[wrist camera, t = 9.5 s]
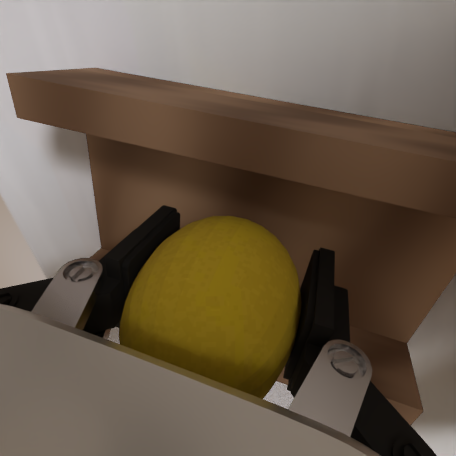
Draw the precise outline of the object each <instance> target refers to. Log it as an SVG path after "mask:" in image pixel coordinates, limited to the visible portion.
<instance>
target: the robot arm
mask: <svg viewBox="0 0 456 456" xmlns="http://www.w3.org/2000/svg"><path fill="white" fill-rule="evenodd" d="M178 230H180V213H179V212H177V209H176V208H173V207H169V206H166V205H163V206H161V207H160V208H159V209H158V210H157V211H156V212H155V213H153V214H152V215H151V216H150V217H149V218H148V219H147V220H145V221H144V222H143V223H142V224H141V225H140V226H139V227H138V228H136V229H135V230H133V231H132V232H131V233H130V234H129V235H128V236H126V237H125V238H124V239H123V240H122V241H121V242H120V243H118V244H117V245H116V246H115V247H114V248H113V249H112V250H111V251H109V252H108V253H107V254H106V255H105V256H104V257H103V258H101V259H100V260H99V261H97V260H95V259H91V258H80V259H75V260H72V261H70V262H68V263H66V264H65V265H63V266H62V267H61V268H60V269H59V271H58V272H57V274H56V275H55V277H54V278H50V279H46V280H40V281H36V282H31V283H26V284H22V285H16V286H11V287H7V288H2V289H0V456H436V454H435V453H434V452H433V450H432V449H431V448H430V447H429V446H428V445H427V444H426V443H425V441H424V440H423V439H422V438H421V437H420V436H419V435H418V434H417V432H416V431H415V430H414V429H413V428H412V427H411V426H410V425H409V423H408V422H407V421H406V420H405V419H404V418H403V417H402V416H401V415H400V413H399V412H398V411H397V410H396V409H395V408H394V407H393V406H392V404H391V403H390V402H389V401H388V400H387V399H386V398H385V397H384V395H383V394H382V393H381V392H380V391H379V390H378V389H377V388H376V387H375V385H374V384H373V383H372V382H371V381H370V379H371V376H372V366H371V362H370V361H369V359H368V357H367V356H366V354H365V353H364V352H363V351H362V350H361V349H360V348H358V347H357V346H355V345H354V344H352V343H350V323H349V301H348V290H347V289H345V288H342V287H338V286H335V285H334V277H335V251H333V250H329V249H325V248H321V247H320V249H319V250H315V249H314V250H313V253H312V256H311V259H310V262H309V265H308V267H307V270H306V273H305V276H304V279H303V282H302V285H301V288H300V292H301V314H300V320H299V325H298V330H297V335H296V339H295V343H294V346H293V349H292V351H291V354H290V356H289V359H288V361H287V363H286V365H285V369H284V375H283V378H285V379H287V380H288V387H287V390H289V391H291V394H292V395H293V397H294V400H293V401H292V403H291V405H290V407H289V408H288V409H285V408H283V407H281V406H278V405H276V404H273V403H271V402H268V401H266V400H263V399H260V398H258V397H255V396H253V395H250V394H248V393H245V392H242V391H240V390H237V389H235V388H232V387H229V386H227V385H224V384H222V383H219V382H217V381H214V380H211V379H209V378H206V377H204V376H201V375H199V374H196V373H193V372H191V371H188V370H185V369H183V368H180V367H178V366H175V365H172V364H170V363H167V362H165V361H162V360H159V359H157V358H154V357H151V356H149V355H146V354H144V353H141V352H138V351H136V350H133V349H130V348H128V347H125V346H122V345H120V344H117V343H114V342H112V341H109V340H107V339H108V336H109V334H110V330H111V328H114V327H115V326H116V327H118V328H120V321H121V317H122V313H123V309H124V305H125V301H126V299H127V296H128V293H129V291H130V288H131V286H132V284H133V282H134V280H135V278H136V277H137V275H138V273H139V271H140V270H141V268H142V267H143V265H144V264H145V263H146V261H147V260H148V259H149V257H150V256H151V255H152V254H153V252H154V251H155V250H156V249H157V247H158V246H159V245H160V244H161V243H162V242H163V241H164V240H165V239H167V238H168V237H169V236H171V235H172V234H174V233H175V232H177V231H178Z"/></svg>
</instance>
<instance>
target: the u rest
mask: <svg viewBox="0 0 456 456" xmlns="http://www.w3.org/2000/svg"><path fill="white" fill-rule="evenodd" d="M6 75H7V79H8V83H9V87H10V91H11V95H12V99H13V103H14V107H15V111H16V115H17V118H21V119H25V120H29V121H34V122H38V123H42V124H47V125H51V126H55V127H60V128H64V129H68V130H73V131H77V132H82V133H86V137H87V144H88V152H89V159H90V166H91V174H92V181H93V189H94V196H95V204H96V211H97V219H98V226H99V233H100V241H101V249H100V250H99V251H97V252H96V253H95V254H94V255H93V256H91V257H90V258H91V259H95V260H97V261H99V260H100V259H101V258H103V257H104V256H105V255H106V254H107V253H108V252H109V251H111V250H112V249H113V248H114V247H115V246H116V245H117V244H118V243H120V242H121V241H122V240H123V239H124V238H125V237H126V236H128V235H129V234H130V233H131V232H132V231H133V230H135V229H136V228H138V227H139V226H140V225H141V224H142V223H143V222H144V221H145V220H147V219H148V218H149V217H150V216H151V215H152V214H153V213H155V212H156V211H157V210H158V209H159V208H160V207H161V206H163V205H166V206H169V207H173V208H176V209H177V212H179V213H180V229H181V228H183V227H184V226H186V225H188V224H189V223H192V222H194V221H197V220H201V219H204V218H208V217H212V216H234V217H239V218H244V219H248V220H250V221H252V222H255V223H257V224H259V225H261V226H263V227H264V228H265V229H267V230H268V231H269V232H271V233H272V234H273V235H275V236H276V238H277V239H278V240H279V241H280V242H281V243H282V245H283V246H284V247H285V248H286V249H287V251H288V253H289V255H290V257H291V259H292V261H293V263H294V265H295V267H296V270H297V274H298V279H299V285H300V288H301V285H302V282H303V279H304V276H305V273H306V270H307V267H308V265H309V262H310V259H311V256H312V253H313V250H314V249H315V250H319V249H320V247H321V248H325V249H329V250H333V251H335V277H334V285H335V286H338V287H342V288H345V289H347V290H348V301H349V323H350V343H352V344H354V345H355V346H357V347H358V348H360V349H361V350H362V351H363V352H364V353H365V354H366V356H367V357H368V359H369V361H370V362H371V366H372V376H371V379H370V381H371V382H372V383H373V384H374V385H375V387H376V388H377V389H378V390H379V391H380V392H381V393H382V394H383V395H384V397H385V398H386V399H387V400H388V401H389V402H390V403H391V404H392V406H393V407H394V408H395V409H396V410H397V411H398V412H399V413H400V415H401V416H402V417H403V418H404V419H405V420H406V421H407V422H408V423H409V425H411V424H412V423H413V422H414V421H415V420H416V419H417V418H418V416H419V415H420V414H421V413H422V412H423V407H422V403H421V399H420V395H419V391H418V387H417V383H416V379H415V375H414V371H413V367H412V362H411V358H410V354H409V350H408V346H407V342H408V341H409V339H410V338H411V337H412V335H413V334H414V332H415V331H416V329H417V328H418V327H419V325H420V324H421V322H422V321H423V319H424V318H425V317H426V315H427V314H428V312H429V311H430V309H431V308H432V307H433V305H434V304H435V302H436V301H437V299H438V298H439V297H440V295H441V294H442V292H443V291H444V289H445V288H446V286H447V285H448V284H449V282H450V281H451V279H452V278H453V276H454V275H455V274H456V132H451V131H445V130H439V129H434V128H428V127H423V126H417V125H412V124H406V123H400V122H395V121H389V120H384V119H378V118H372V117H367V116H361V115H356V114H350V113H345V112H339V111H333V110H328V109H322V108H317V107H311V106H305V105H300V104H294V103H289V102H283V101H278V100H272V99H266V98H261V97H255V96H250V95H244V94H238V93H233V92H227V91H222V90H216V89H211V88H205V87H199V86H194V85H188V84H183V83H177V82H171V81H166V80H160V79H155V78H149V77H144V76H138V75H132V74H127V73H121V72H116V71H110V70H104V69H99V68H85V69H69V70H53V71H37V72H21V73H6ZM284 369H285V367H284V368H283V370H282V372H281V374H280V375H279V377H278V378H277V380H276V381H278V382H281V383H284V384H286V385H288V380H287V379H285V378H283V375H284Z"/></svg>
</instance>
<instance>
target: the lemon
mask: <svg viewBox="0 0 456 456" xmlns="http://www.w3.org/2000/svg"><path fill="white" fill-rule="evenodd" d="M300 314H301V292H300V285H299V279H298V274H297V270H296V267H295V265H294V263H293V261H292V259H291V257H290V255H289V253H288V251H287V249H286V248H285V247H284V246H283V245H282V243H281V242H280V241H279V240H278V239H277V238H276V236H275V235H273V234H272V233H271V232H269V231H268V230H267V229H265V228H264V227H263V226H261V225H259V224H257V223H255V222H252V221H250V220H248V219H244V218H239V217H234V216H212V217H208V218H204V219H201V220H197V221H194V222H192V223H189V224H188V225H186V226H184V227H183V228H181V229H180V230H178V231H177V232H175V233H174V234H172V235H171V236H169V237H168V238H167V239H165V240H164V241H163V242H162V243H161V244H160V245H159V246H158V247H157V249H156V250H155V251H154V252H153V254H152V255H151V256H150V257H149V259H148V260H147V261H146V263H145V264H144V265H143V267H142V268H141V270H140V271H139V273H138V275H137V277H136V278H135V280H134V282H133V284H132V286H131V288H130V291H129V293H128V296H127V299H126V301H125V305H124V309H123V313H122V317H121V321H120V328H119V340H120V345H122V346H125V347H128V348H130V349H133V350H136V351H138V352H141V353H144V354H146V355H149V356H151V357H154V358H157V359H159V360H162V361H165V362H167V363H170V364H172V365H175V366H178V367H180V368H183V369H185V370H188V371H191V372H193V373H196V374H199V375H201V376H204V377H206V378H209V379H211V380H214V381H217V382H219V383H222V384H224V385H227V386H229V387H232V388H235V389H237V390H240V391H242V392H245V393H248V394H250V395H253V396H255V397H258V398H260V399H263V398H264V397H265V396H266V394H267V393H268V392H269V390H270V389H271V388H272V386H273V385H274V383H275V382H276V380H277V378H278V377H279V375H280V374H281V372H282V370H283V368H284V367H285V365H286V363H287V361H288V359H289V356H290V354H291V351H292V349H293V346H294V343H295V339H296V335H297V330H298V325H299V320H300Z"/></svg>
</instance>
